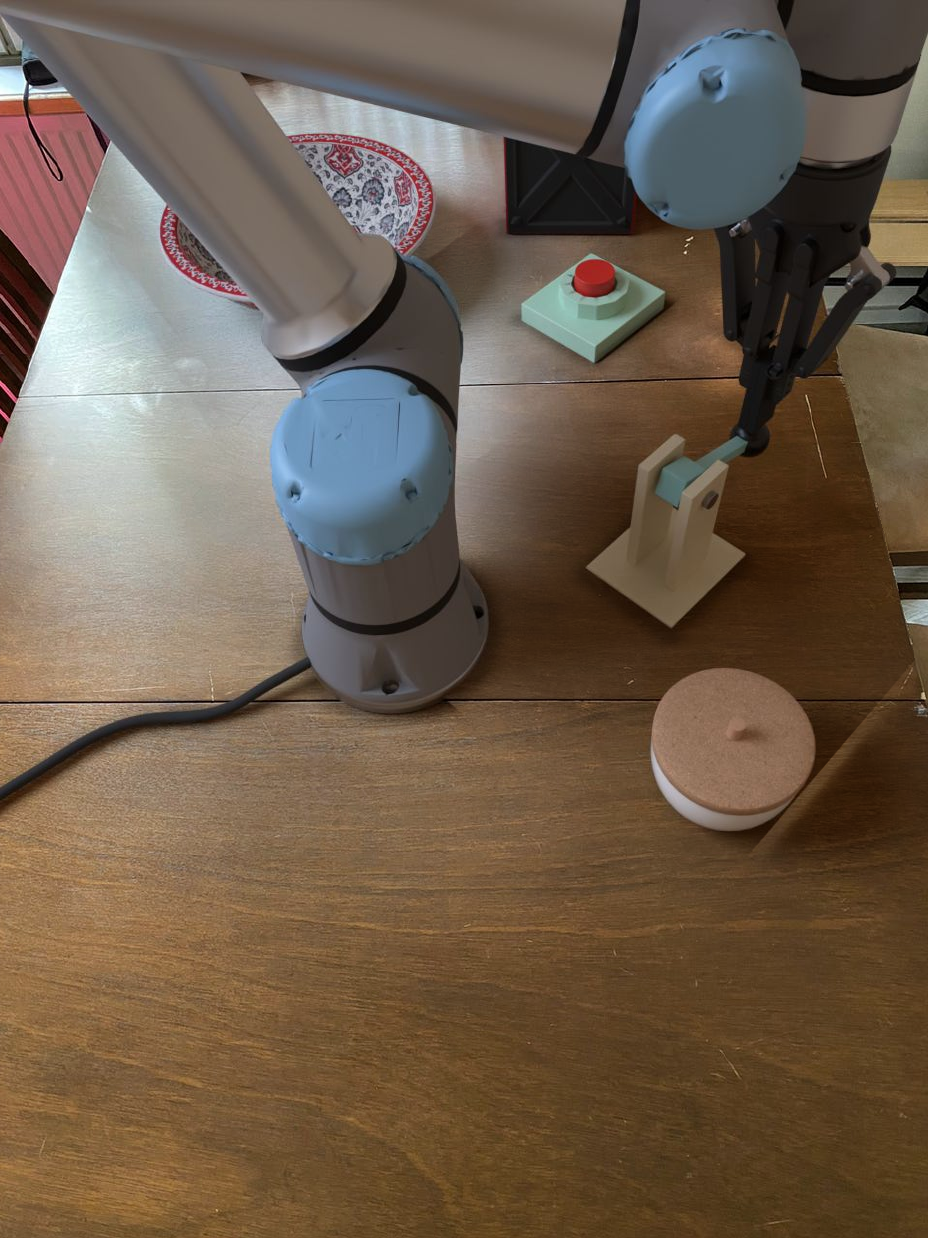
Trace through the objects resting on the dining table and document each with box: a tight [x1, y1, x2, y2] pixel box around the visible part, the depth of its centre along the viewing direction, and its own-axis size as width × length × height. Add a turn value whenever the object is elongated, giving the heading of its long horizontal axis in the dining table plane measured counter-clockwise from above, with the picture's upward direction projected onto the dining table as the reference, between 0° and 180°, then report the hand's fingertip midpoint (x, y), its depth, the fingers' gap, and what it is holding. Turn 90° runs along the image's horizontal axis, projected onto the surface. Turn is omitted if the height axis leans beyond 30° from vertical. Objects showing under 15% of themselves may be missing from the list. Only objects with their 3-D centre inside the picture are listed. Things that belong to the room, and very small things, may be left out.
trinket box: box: [650, 667, 817, 832], centre depth 67 cm, size 11×11×9 cm
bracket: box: [585, 433, 746, 629], centre depth 77 cm, size 10×9×13 cm
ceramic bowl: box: [157, 132, 437, 312], centre depth 104 cm, size 29×29×8 cm
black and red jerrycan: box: [503, 137, 638, 235], centre depth 103 cm, size 16×10×20 cm, turn 84°
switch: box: [655, 422, 771, 509], centre depth 76 cm, size 13×3×3 cm, turn 135°
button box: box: [520, 252, 666, 364], centre depth 99 cm, size 11×10×4 cm
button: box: [574, 259, 615, 298], centre depth 97 cm, size 4×4×2 cm
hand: (755, 421), depth 77 cm, fingers closed
